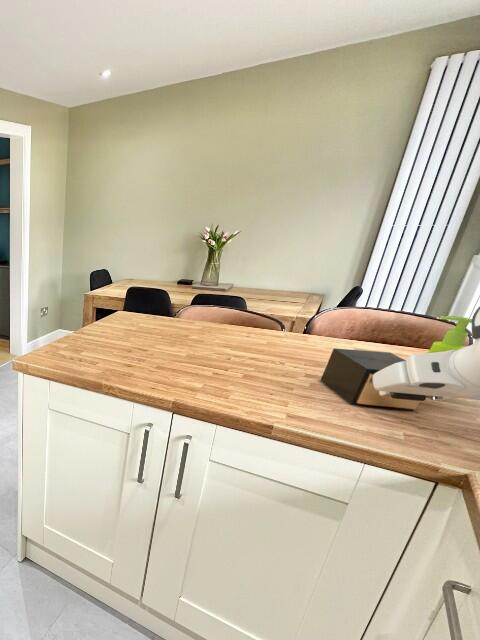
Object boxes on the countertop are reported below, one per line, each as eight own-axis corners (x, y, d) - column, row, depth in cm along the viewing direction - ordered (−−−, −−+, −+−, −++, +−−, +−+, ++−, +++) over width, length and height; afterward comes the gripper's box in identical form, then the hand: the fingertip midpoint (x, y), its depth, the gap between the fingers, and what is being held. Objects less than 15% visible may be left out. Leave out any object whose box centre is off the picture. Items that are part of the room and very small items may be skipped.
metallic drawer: (431, 419, 90) (449, 388, 86) (370, 413, 92) (385, 383, 89) (378, 385, 106) (391, 358, 102) (328, 381, 108) (339, 354, 105)
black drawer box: (413, 410, 95) (433, 374, 91) (350, 404, 98) (367, 368, 94) (374, 385, 108) (390, 352, 104) (320, 380, 111) (333, 348, 107)
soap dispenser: (403, 384, 109) (440, 312, 100) (440, 392, 104) (483, 318, 96) (403, 391, 105) (442, 317, 96) (442, 399, 100) (486, 323, 92)
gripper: (533, 362, 75) (463, 387, 88) (401, 352, 80) (353, 377, 93) (542, 393, 73) (469, 414, 86) (407, 381, 78) (356, 403, 91)
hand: (408, 395), depth 89 cm, fingers open, 8 cm apart
